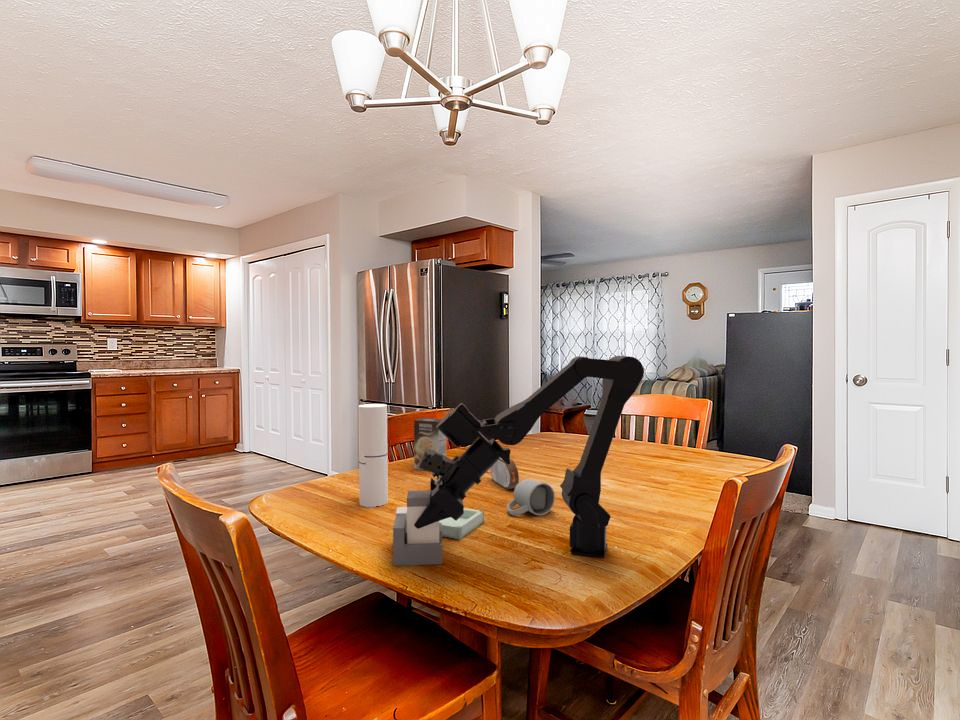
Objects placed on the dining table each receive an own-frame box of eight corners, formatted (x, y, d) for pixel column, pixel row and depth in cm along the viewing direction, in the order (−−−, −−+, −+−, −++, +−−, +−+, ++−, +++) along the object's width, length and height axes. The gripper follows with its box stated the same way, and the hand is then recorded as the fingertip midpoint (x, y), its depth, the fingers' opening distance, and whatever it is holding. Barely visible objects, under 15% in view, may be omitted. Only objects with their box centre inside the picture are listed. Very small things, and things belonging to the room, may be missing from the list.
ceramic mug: (535, 503, 135) (535, 473, 135) (555, 512, 128) (555, 481, 128) (500, 511, 130) (499, 480, 129) (519, 521, 123) (518, 488, 122)
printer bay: (441, 539, 111) (441, 504, 111) (442, 564, 99) (442, 524, 98) (398, 540, 110) (397, 505, 110) (393, 565, 98) (392, 526, 98)
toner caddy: (439, 549, 105) (439, 489, 105) (439, 560, 100) (439, 497, 100) (408, 551, 105) (408, 490, 104) (407, 561, 100) (406, 498, 99)
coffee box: (412, 469, 171) (412, 419, 171) (422, 465, 177) (422, 417, 176) (438, 472, 168) (438, 421, 167) (447, 467, 174) (447, 418, 173)
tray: (484, 521, 122) (484, 511, 122) (459, 539, 111) (459, 527, 111) (434, 514, 127) (434, 503, 127) (406, 530, 116) (406, 519, 116)
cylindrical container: (381, 508, 132) (380, 407, 131) (354, 506, 133) (353, 406, 132) (392, 499, 139) (391, 404, 138) (366, 498, 140) (365, 403, 139)
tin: (519, 492, 146) (519, 461, 145) (509, 493, 145) (509, 462, 144) (497, 478, 160) (497, 450, 159) (488, 479, 159) (488, 451, 158)
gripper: (443, 427, 111) (390, 480, 111) (444, 444, 93) (381, 508, 92) (480, 463, 112) (428, 516, 112) (489, 488, 94) (426, 552, 93)
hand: (416, 522), depth 102 cm, fingers closed on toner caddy, 5 cm apart
